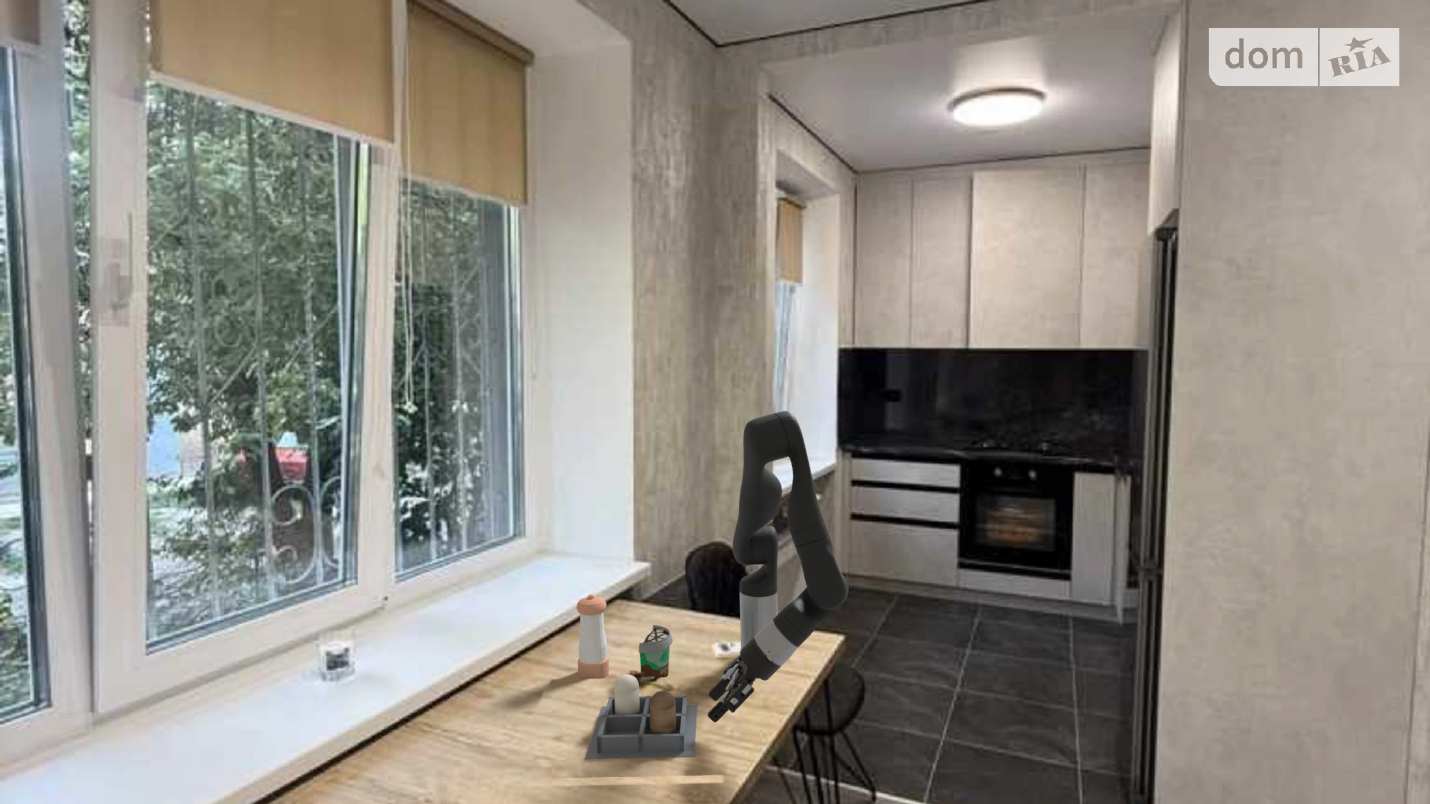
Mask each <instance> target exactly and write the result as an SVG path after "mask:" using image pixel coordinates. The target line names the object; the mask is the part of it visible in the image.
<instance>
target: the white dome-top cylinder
mask: <svg viewBox="0 0 1430 804" xmlns="http://www.w3.org/2000/svg"><path fill="white" fill-rule="evenodd" d="M613 691H614V697H615V715H637V714H640V703H639V696H640V685H639V680H638V679H637V678H636V677H635V676H634V675H633V674H632V675H631V674H629V673H627V674H623V675H622V674H621V676H619V677H618V678H617V679H616V680H615V682H614V690H613Z"/></svg>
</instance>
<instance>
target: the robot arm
mask: <svg viewBox="0 0 1430 804" xmlns="http://www.w3.org/2000/svg"><path fill="white" fill-rule="evenodd" d="M742 441H743V443H742V444H743V445H742V446H743V448H742V449H743V453H742V454H743V468H742V478H741V485H740V492H739V499H738V516H737V521H736V525H735V530H734V534H733V537H732V538H733V540H732V553H733V556H734V557H733V558H734V560H735V561H736V562H737V563H738V564H740V565H744V566H749V565H751V566H754V565H755V566H756V565H761V567H760V568H759V569H757V570H756V571H754V572H752V573H750V574H748V575H745V576H744V577H742V578H741V579H740V581H739V614H740V617H739V618H740V619H739V620H740V650H739V655H738V656H737V657H736V658H735V659H734V660H733V661H732V662H731V663H730V664H729V665H728V666H727V667H726V668H724V670H723V671H722V674H723V675H721V676H720V680H719V681H718V682H717V683H716V684H715V685H713V687H711V689H710V690H709V691H708V697H709V698H711V699H712V701H715V702H717V701H718V700H719V701H718V702H717V703H716V704H715V705H714V706H713V707H711V709H710V710H709V711H708V712H707V717H708V718H709V719H710V720H711V722H714V723H717V722H718V721H719V720H720V719H721V718H722V717H724V716H725V715H726V713H727V712H728V711H730V712H731V713H732V714H733V713H735V712H736V711H737V709H739V708H740V707H741V705H743V704H744V703H745V702H746V701H747V699H748V698H749V697H750V696H751V695H752V694H753V693H754V692H755V688H754V687H753V685H754V682H755V681H756V680H757V679H760V680H761V681H764V682H765V681H768V680H770V679H771V677H772V676H773V675H774V674H775V673H777V671H778V670H779V669H780V668H781V667H782V666H784V664H785V663H786V662H787V661H788V660H789V659H790V658H791V657H792V656H793V655H794V653H795V652H796V651H797V650H798V648H799V647H801V645H802V644H803V643H804V642H805V641H806V640H808V638H809V637H810V636H811V635H812V634H813V633H814V632H815V630H816V629H817V627H818V626H819V625H820V624H821V623H822V622H824V620H826V619H827V618H828V617H829V616H830V615H831V614H832V613H833V612H834V611H835V610H836V609H838V607H840V606H841V605H842V604H843V603H844V602H845V601H846V600H847V597H848V596H849V591H850V587H849V583H848V580H847V578H846V577H845V576H844V575H843V573H841V571H840V568H839V566H838V563H837V561H836V558H835V556H834V551H833V550H834V548H833V544H832V543H833V542H832V539H831V537H830V534H829V531H828V529H827V525H826V523H825V520H824V517H823V515H822V511H821V509H820V505H819V501H818V498H817V493H816V489H815V488H816V487H815V485H814V479H813V474H812V470H811V465H810V464H811V463H810V459H809V457H808V453H807V449H806V448H807V447H806V443H805V439H804V435H803V432H802V429H801V426H800V424H799V422H798V420H797V418H796V416H795V415H794V414H793V413H792V412H790V411H789V410H783V411H778V412H774V413H771V414H767V415H763V416H759V417H755V418H753V419H751V420H748V421H747V423H746V424H745V426H744V429H743V440H742ZM785 458H789V460H790V463H791V470H792V482H791V491H790V494H789V499H788V504H787V511H786V513H787V514H786V520H787V522H786V523H787V527H788V530H789V533H790V536H791V539H792V542H793V545H794V548H795V551H796V552H797V555H798V558H799V561H800V564H801V569H802V572H803V573H802V574H803V577H804V582H805V586H806V588H804V589H803V590H802V591H801V593H800V594H798V596H797V597H796V598H795V599H794V600H793V601H791V602H789V603H788V604H787V605H786V606H785V607H784V608H782V609H781V611H779V610H778V607H779V606H778V605H779V604H778V559H779V557H778V556H779V538H778V537H779V536H778V532H777V530H776V528H775V527H774V526H772V525H768V524H769V523H770V522H771V521H772V520H773V519H774V518H775V517H776V516H777V514H778V513H779V510H780V506H781V501H782V497H783V487H782V484H781V482H780V480H779V478H778V477H777V476H776V474H775V473H773V471H772V470H770V469H769V468H767V466H766V465H767V464H768V463H772V462H776V461H779V460H781V459H785ZM721 697H722V698H721ZM720 698H721V699H720Z"/></svg>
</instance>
